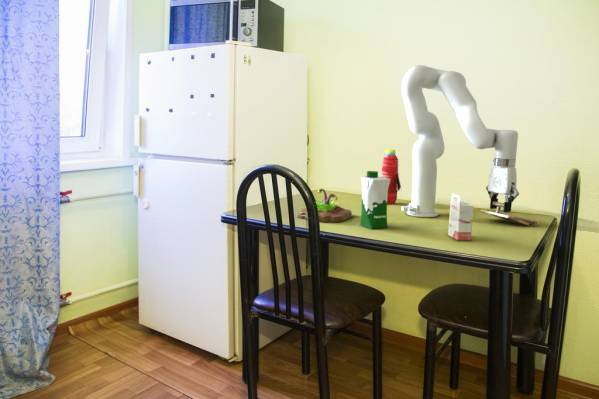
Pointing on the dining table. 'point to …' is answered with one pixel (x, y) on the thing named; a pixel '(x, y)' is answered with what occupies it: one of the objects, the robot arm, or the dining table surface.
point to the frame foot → (531, 222)
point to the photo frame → (502, 214)
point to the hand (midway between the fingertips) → (500, 210)
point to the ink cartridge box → (460, 219)
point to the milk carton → (374, 200)
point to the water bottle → (391, 175)
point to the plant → (329, 210)
